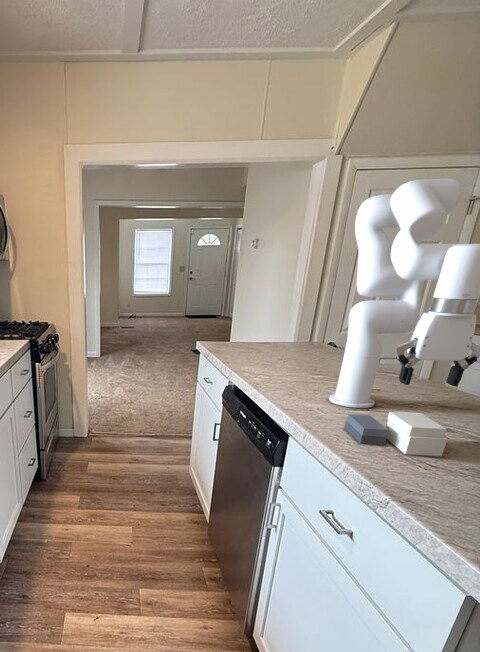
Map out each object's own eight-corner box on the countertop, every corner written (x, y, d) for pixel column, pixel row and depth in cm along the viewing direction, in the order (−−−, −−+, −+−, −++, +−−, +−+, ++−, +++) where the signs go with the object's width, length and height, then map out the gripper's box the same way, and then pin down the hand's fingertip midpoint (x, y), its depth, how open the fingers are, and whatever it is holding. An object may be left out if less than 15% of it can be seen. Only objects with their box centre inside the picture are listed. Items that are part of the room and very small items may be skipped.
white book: (387, 419, 103) (389, 411, 102) (417, 421, 101) (420, 412, 100) (409, 435, 93) (412, 427, 92) (443, 437, 91) (446, 428, 90)
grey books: (344, 427, 110) (347, 413, 108) (366, 428, 109) (369, 415, 107) (360, 443, 100) (363, 428, 98) (384, 444, 99) (388, 429, 97)
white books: (383, 436, 104) (387, 420, 102) (416, 438, 102) (421, 422, 101) (405, 454, 94) (410, 437, 92) (441, 456, 92) (447, 439, 91)
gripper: (487, 305, 88) (460, 380, 94) (398, 305, 91) (378, 378, 98) (512, 309, 81) (481, 390, 88) (416, 309, 84) (393, 387, 91)
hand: (427, 384), depth 93 cm, fingers open, 9 cm apart
